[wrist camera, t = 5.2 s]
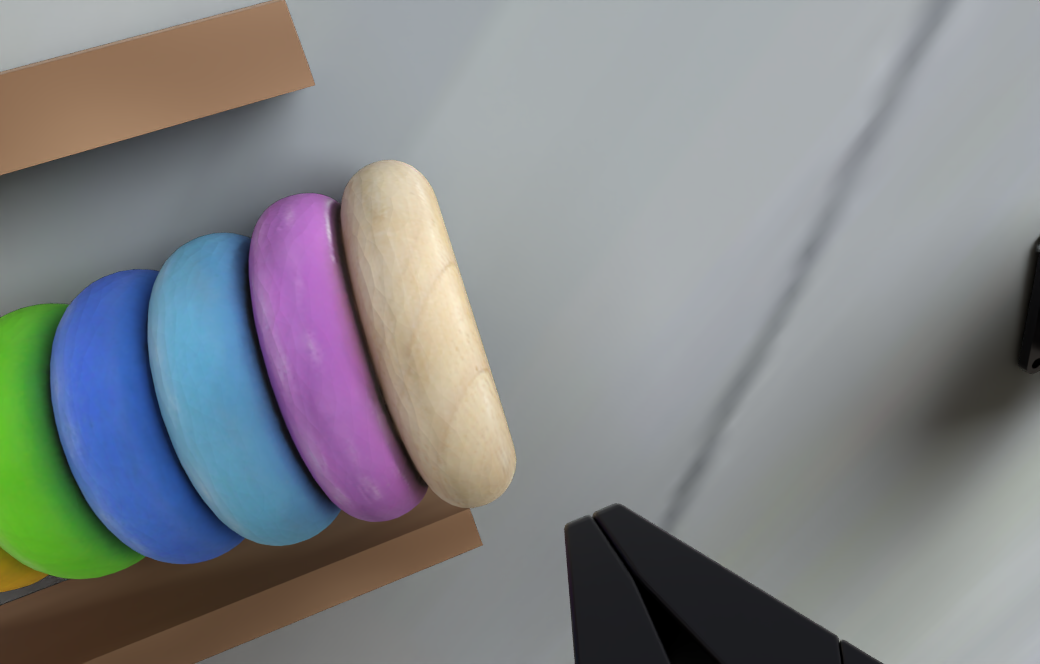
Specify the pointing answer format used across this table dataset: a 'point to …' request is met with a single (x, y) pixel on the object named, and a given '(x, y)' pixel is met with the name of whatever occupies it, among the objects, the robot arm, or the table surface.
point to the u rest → (249, 566)
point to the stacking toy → (249, 390)
